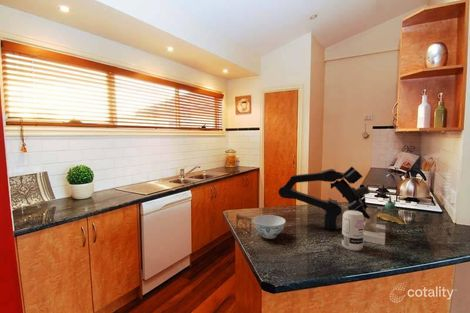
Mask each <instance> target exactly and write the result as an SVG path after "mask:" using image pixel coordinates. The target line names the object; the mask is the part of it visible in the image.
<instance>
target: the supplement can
mask: <svg viewBox="0 0 470 313" xmlns="http://www.w3.org/2000/svg"><path fill="white" fill-rule="evenodd" d="M364 222H365V217H364V216H363V213H361V212H359V211H354V210H349V209H347V210H345V211H344V212H343V214H342V225H341V226H342V228H341V245H342V247H343V248H344V249H347V250H349V251H357V252H358V251H361V250H362V249H363V248H364V241H363V234H364Z"/></svg>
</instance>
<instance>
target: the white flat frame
mask: <svg viewBox="0 0 470 313" xmlns="http://www.w3.org/2000/svg"><path fill="white" fill-rule="evenodd" d="M363 242H367V243H373V244H377V245H383V246H385V244H386V225H385V224H378V223H376V233H375V232H369V231H365V221H364V234H363Z"/></svg>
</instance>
